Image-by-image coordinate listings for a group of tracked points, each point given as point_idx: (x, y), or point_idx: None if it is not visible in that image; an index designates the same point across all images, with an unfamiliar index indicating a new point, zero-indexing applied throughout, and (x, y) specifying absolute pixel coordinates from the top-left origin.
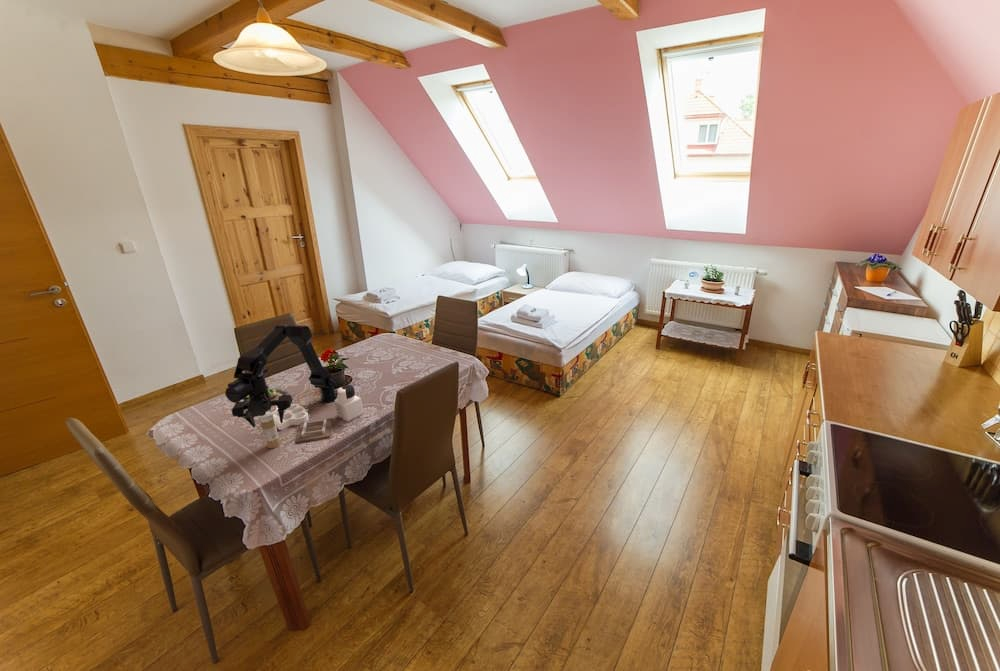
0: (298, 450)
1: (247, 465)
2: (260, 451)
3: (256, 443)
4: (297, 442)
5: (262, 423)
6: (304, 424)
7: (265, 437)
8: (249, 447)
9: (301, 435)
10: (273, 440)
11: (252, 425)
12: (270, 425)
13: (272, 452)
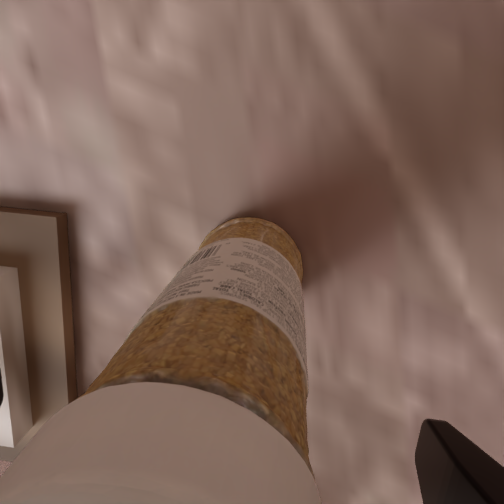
0: (23, 91)
1: (466, 11)
2: (357, 215)
3: (399, 352)
4: (49, 212)
5: (253, 397)
6: (6, 418)
7: (289, 278)
8: (455, 318)
9: (29, 296)
10: (218, 241)
11: (477, 454)
12: (137, 340)
13: (249, 153)
